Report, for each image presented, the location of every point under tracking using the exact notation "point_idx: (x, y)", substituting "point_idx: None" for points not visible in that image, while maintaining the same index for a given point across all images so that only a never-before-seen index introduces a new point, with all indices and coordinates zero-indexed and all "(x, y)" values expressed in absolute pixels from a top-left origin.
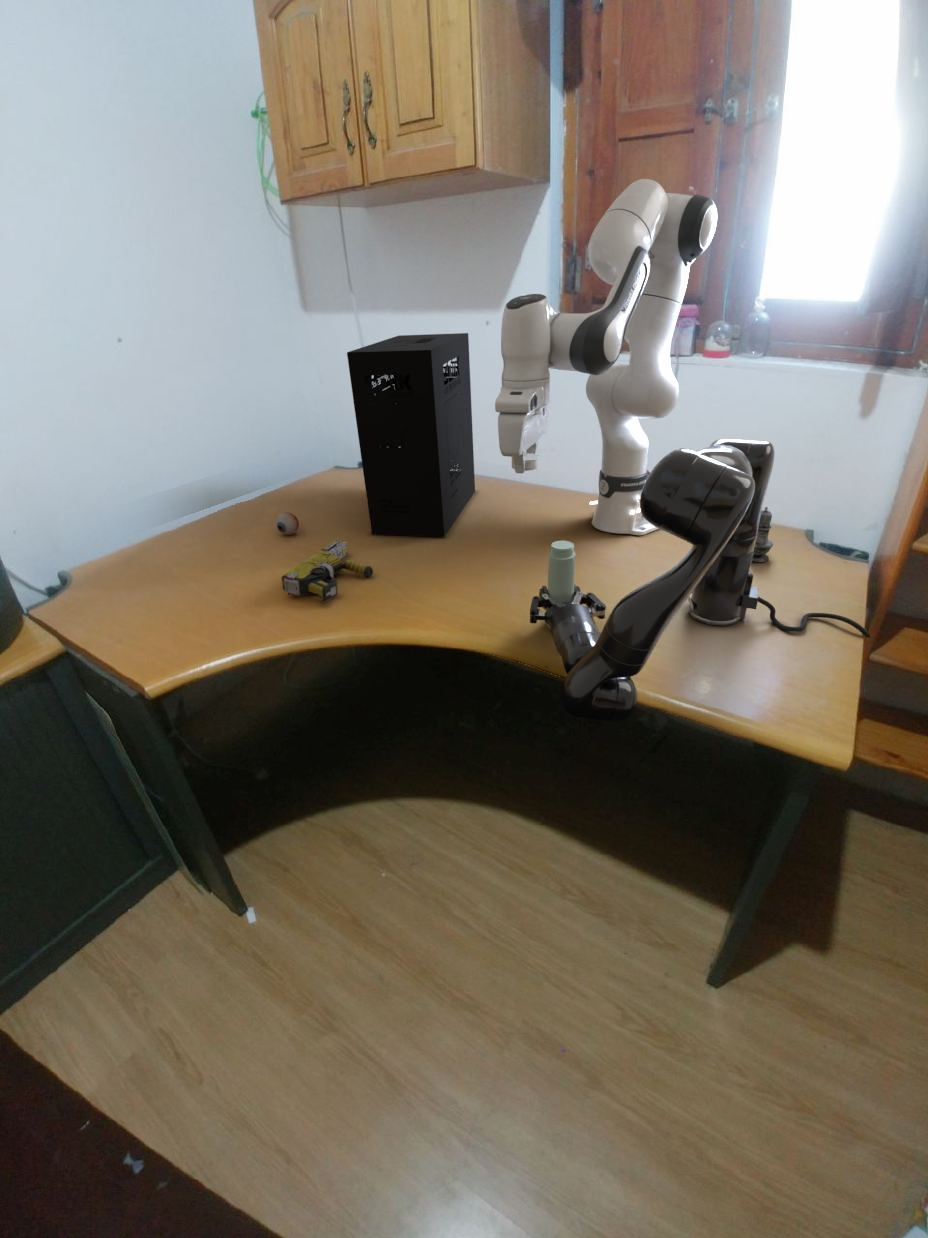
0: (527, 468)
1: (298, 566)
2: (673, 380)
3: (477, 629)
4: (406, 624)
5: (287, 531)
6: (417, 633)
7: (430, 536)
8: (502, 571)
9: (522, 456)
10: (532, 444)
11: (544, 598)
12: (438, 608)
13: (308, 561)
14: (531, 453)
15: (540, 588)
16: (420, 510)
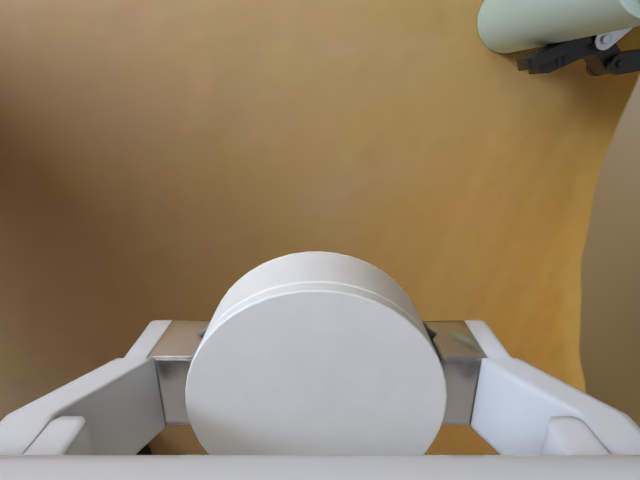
0: (419, 316)
1: None
2: None
3: (550, 204)
4: (544, 339)
5: None
6: (576, 308)
7: (148, 447)
8: (264, 242)
9: (629, 424)
10: (407, 456)
11: (620, 36)
12: (472, 309)
13: None
14: (191, 386)
15: (540, 71)
16: None
